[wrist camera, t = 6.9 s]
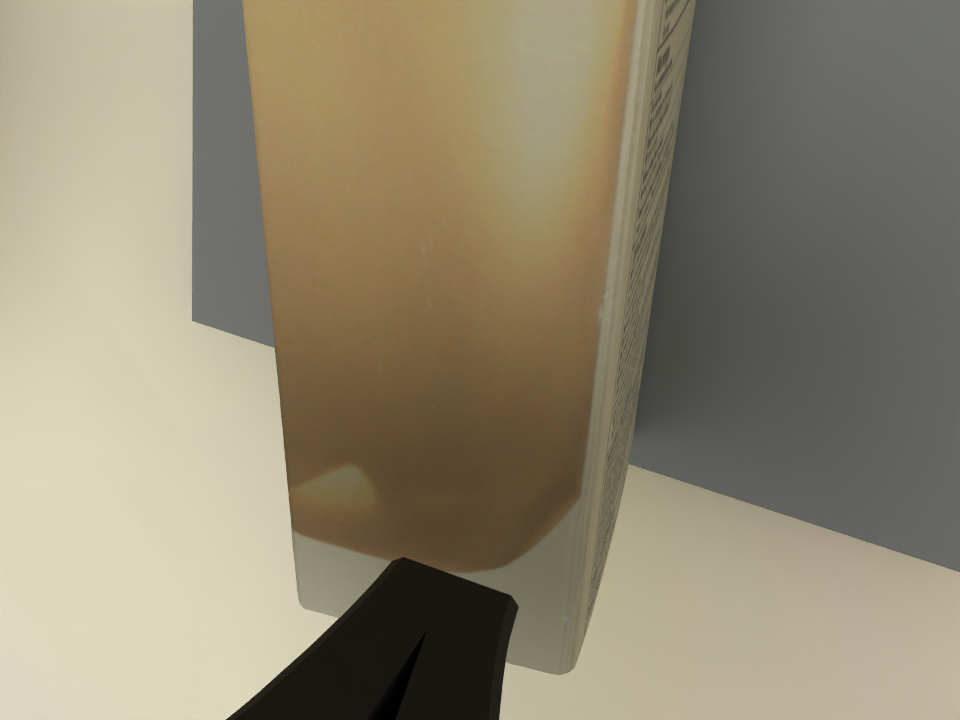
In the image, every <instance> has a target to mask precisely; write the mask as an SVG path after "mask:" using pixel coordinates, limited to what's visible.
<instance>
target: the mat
mask: <svg viewBox="0 0 960 720" xmlns="http://www.w3.org/2000/svg"><path fill="white" fill-rule="evenodd" d="M192 321H194V322H197V323H201V324H204V325H207V326H210V327H213V328H216V329H219V330H222V331H225V332H228V333H231V334H234V335H237V336H240V337H243V338H246V339H249V340H252V341H256V342H259V343H262V344H265V345H268V346H271V347H274V348H275V343H274V333H273V322H272V312H271V302H270V293H269V282H268V272H267V261H266V250H265V238H264V225H263V216H262V207H261V197H260V186H259V175H258V164H257V153H256V142H255V131H254V121H253V110H252V99H251V88H250V77H249V67H248V58H247V48H246V39H245V29H244V17H243V6H242V0H193V222H192ZM628 464H631V465H634V466H637V467H640V468H644V469H647V470H650V471H653V472H656V473H659V474H662V475H665V476H668V477H671V478H674V479H677V480H680V481H683V482H686V483H689V484H692V485H695V486H699V487H702V488H705V489H708V490H711V491H714V492H717V493H720V494H723V495H726V496H729V497H732V498H735V499H738V500H741V501H744V502H747V503H750V504H754V505H757V506H760V507H763V508H766V509H769V510H772V511H775V512H778V513H781V514H784V515H787V516H790V517H793V518H796V519H799V520H802V521H805V522H809V523H812V524H815V525H818V526H821V527H824V528H827V529H830V530H833V531H836V532H839V533H842V534H845V535H848V536H851V537H854V538H857V539H860V540H864V541H867V542H870V543H873V544H876V545H879V546H882V547H885V548H888V549H891V550H894V551H897V552H900V553H903V554H906V555H909V556H912V557H915V558H919V559H922V560H925V561H928V562H931V563H934V564H937V565H940V566H943V567H946V568H949V569H952V570H955V571H958V572H960V0H696V5H695V12H694V19H693V25H692V32H691V39H690V45H689V52H688V59H687V65H686V72H685V79H684V86H683V93H682V100H681V106H680V113H679V120H678V127H677V134H676V141H675V148H674V154H673V161H672V168H671V175H670V182H669V189H668V196H667V203H666V210H665V216H664V223H663V230H662V237H661V244H660V250H659V257H658V264H657V271H656V278H655V285H654V292H653V299H652V306H651V313H650V320H649V327H648V335H647V342H646V350H645V357H644V364H643V370H642V377H641V383H640V390H639V397H638V404H637V411H636V419H635V427H634V434H633V440H632V446H631V452H630V458H629V463H628Z"/></svg>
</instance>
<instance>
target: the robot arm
mask: <svg viewBox="0 0 960 720" xmlns="http://www.w3.org/2000/svg"><path fill="white" fill-rule="evenodd" d="M518 609H519V606H518V605H517V603H516V602H515V600H514V599H513V597H512V596H511V595H509V594H506V593H503V592H500V591H498V590H495V589H492V588H489V587H486V586H484V585H481V584H478V583H475V582H472V581H470V580H467V579H464V578H461V577H458V576H456V575H453V574H450V573H447V572H444V571H442V570H439V569H436V568H433V567H430V566H428V565H425V564H422V563H419V562H416V561H414V560H411V559H408V558H405V557H401V558H399V559H396V560H393V561H391V563H390V564H389V565H388V566H387V567H386V569H385V570H384V571H383V572H382V573H381V574H380V576H379V577H378V578H377V579H376V580H375V581H374V582H373V583H372V584H371V586H370V587H369V588H368V589H367V590H366V591H365V592H364V593H363V594H362V595H361V596H360V597H359V598H358V599H357V601H356V602H355V603H354V604H353V605H352V606H351V607H350V608H349V609H348V610H347V611H346V612H345V613H344V614H343V615H342V616H341V617H340V618H339V619H338V620H337V621H336V622H335V623H334V624H333V625H332V626H331V627H330V628H329V629H327V630H326V631H325V632H324V633H323V634H322V635H321V636H320V637H319V638H318V639H317V640H316V641H315V642H314V643H313V644H312V645H311V646H310V647H309V648H308V649H307V650H305V651H304V652H303V653H302V654H301V655H300V656H299V657H298V658H297V659H295V660H294V661H293V662H292V663H291V664H290V665H289V666H288V667H287V668H285V669H284V670H283V671H282V672H281V673H280V674H279V675H278V676H276V677H275V678H274V679H273V680H272V681H271V682H270V683H269V684H268V685H266V686H265V687H264V688H263V689H262V690H261V691H260V692H259V693H258V694H256V695H255V696H254V697H253V698H252V699H251V700H249V701H248V702H247V703H246V704H245V705H243V706H242V707H241V708H240V709H239V710H237V711H236V712H235V713H234V714H232V715H231V716H230V717H229V718H227V719H226V720H499V714H500V704H501V694H502V684H503V676H504V669H505V662H506V656H507V650H508V645H509V640H510V636H511V633H512V629H513V626H514V622H515V619H516V616H517V612H518Z"/></svg>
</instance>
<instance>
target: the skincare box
mask: <svg viewBox="0 0 960 720" xmlns="http://www.w3.org/2000/svg"><path fill="white" fill-rule="evenodd" d="M695 5H696V0H242V6H243V17H244V29H245V39H246V48H247V58H248V67H249V77H250V88H251V99H252V110H253V121H254V131H255V142H256V153H257V164H258V175H259V186H260V197H261V207H262V216H263V225H264V238H265V250H266V261H267V272H268V282H269V293H270V302H271V312H272V322H273V333H274V343H275V354H276V364H277V374H278V385H279V394H280V406H281V417H282V426H283V437H284V449H285V460H286V471H287V482H288V492H289V503H290V514H291V528H292V541H293V551H294V560H295V570H296V581H297V591H298V598H299V602H300V604H301V606H302V607H303V608H305V609H307V610H312V611H316V612H320V613H324V614H327V615H331V616H334V617H338V618H340V617H341V616H342V615H343V614H344V613H345V612H346V611H347V610H348V609H349V608H350V607H351V606H352V605H353V604H354V603H355V602H356V601H357V599H358V598H359V597H360V596H361V595H362V594H363V593H364V592H365V591H366V590H367V589H368V588H369V587H370V586H371V584H372V583H373V582H374V581H375V580H376V579H377V578H378V577H379V576H380V574H381V573H382V572H383V571H384V570H385V569H386V567H387V566H388V565H389V564H390V563H391V561H393V560H396V559H399V558H401V557H405V558H408V559H411V560H414V561H416V562H419V563H422V564H425V565H428V566H430V567H433V568H436V569H439V570H442V571H444V572H447V573H450V574H453V575H456V576H458V577H461V578H464V579H467V580H470V581H472V582H475V583H478V584H481V585H484V586H486V587H489V588H492V589H495V590H498V591H500V592H503V593H506V594H509V595H511V596H512V597H513V599H514V600H515V602H516V603H517V605H518V606H519V609H518V612H517V616H516V619H515V622H514V626H513V629H512V633H511V636H510V640H509V645H508V650H507V656H506V662H507V663H511V664H514V665H519V666H523V667H527V668H531V669H535V670H538V671H542V672H545V673H550V674H556V675H561V674H565V673H568V672H569V671H571V670H572V669H573V668H574V667H575V665H576V662H577V659H578V656H579V653H580V650H581V647H582V644H583V641H584V638H585V634H586V631H587V628H588V625H589V621H590V618H591V615H592V611H593V607H594V604H595V600H596V596H597V593H598V589H599V586H600V582H601V578H602V575H603V571H604V567H605V563H606V559H607V555H608V551H609V547H610V543H611V539H612V535H613V530H614V526H615V522H616V518H617V514H618V510H619V505H620V501H621V496H622V492H623V487H624V483H625V478H626V473H627V469H628V463H629V458H630V452H631V446H632V440H633V434H634V427H635V419H636V411H637V404H638V397H639V390H640V383H641V377H642V370H643V364H644V357H645V350H646V342H647V335H648V327H649V320H650V313H651V306H652V299H653V292H654V285H655V278H656V271H657V264H658V257H659V250H660V244H661V237H662V230H663V223H664V216H665V210H666V203H667V196H668V189H669V182H670V175H671V168H672V161H673V154H674V148H675V141H676V134H677V127H678V120H679V113H680V106H681V100H682V93H683V86H684V79H685V72H686V65H687V59H688V52H689V45H690V39H691V32H692V25H693V19H694V12H695Z"/></svg>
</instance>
